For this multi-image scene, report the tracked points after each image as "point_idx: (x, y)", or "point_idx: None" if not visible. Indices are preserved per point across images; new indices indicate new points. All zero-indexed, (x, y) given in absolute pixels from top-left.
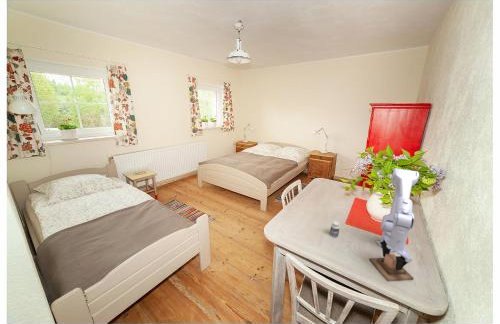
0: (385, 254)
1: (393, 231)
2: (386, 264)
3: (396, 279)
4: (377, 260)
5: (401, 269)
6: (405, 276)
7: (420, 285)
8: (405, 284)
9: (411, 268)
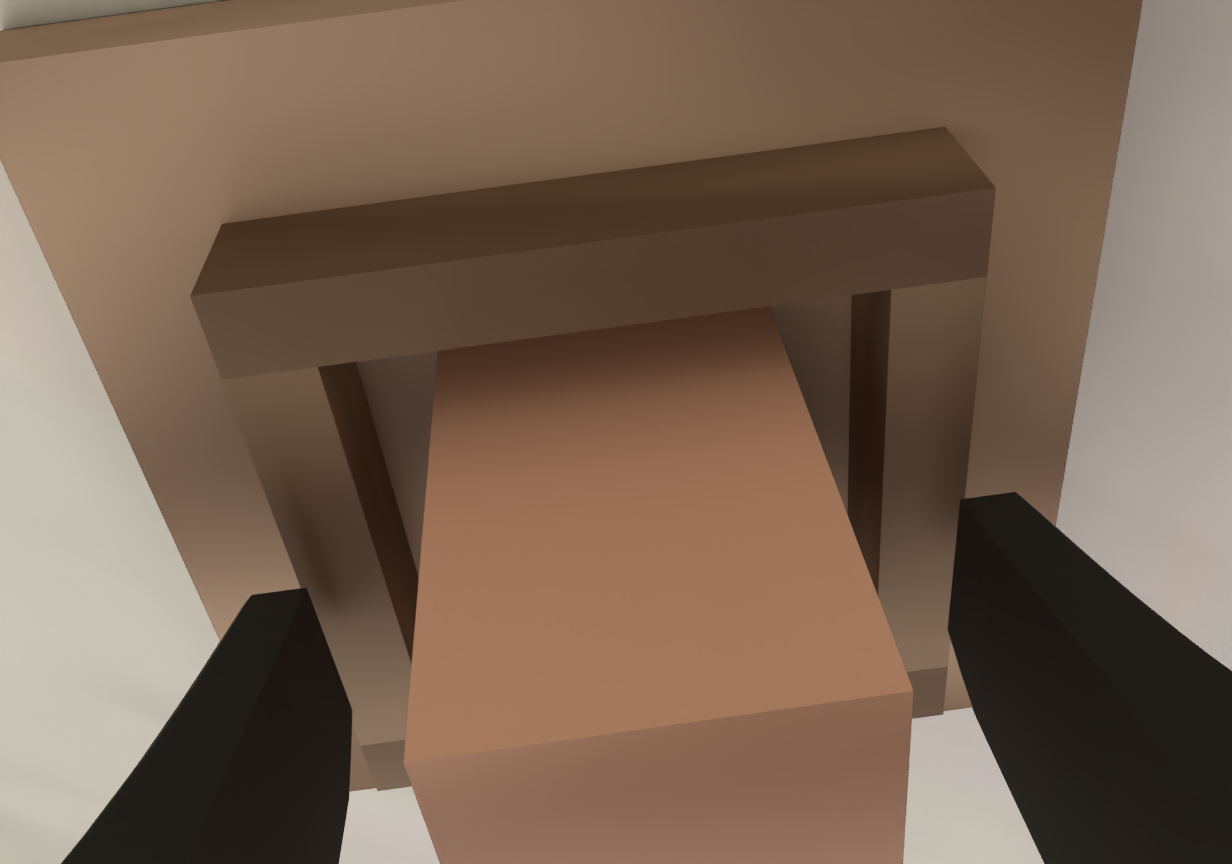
0: (1011, 633)
1: None
2: (640, 398)
3: (118, 378)
4: (918, 170)
5: None
6: None
7: None
8: (70, 520)
9: None
